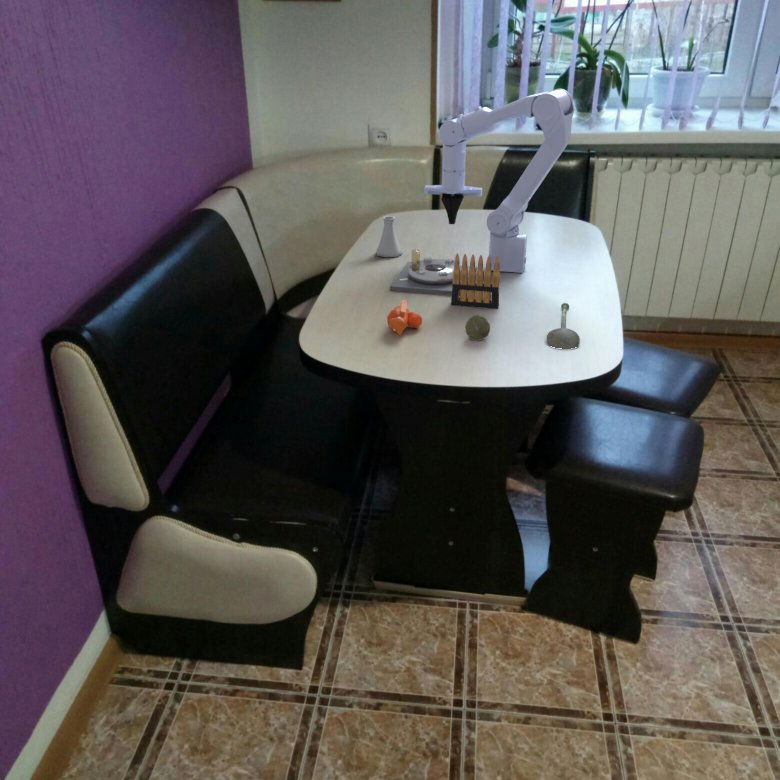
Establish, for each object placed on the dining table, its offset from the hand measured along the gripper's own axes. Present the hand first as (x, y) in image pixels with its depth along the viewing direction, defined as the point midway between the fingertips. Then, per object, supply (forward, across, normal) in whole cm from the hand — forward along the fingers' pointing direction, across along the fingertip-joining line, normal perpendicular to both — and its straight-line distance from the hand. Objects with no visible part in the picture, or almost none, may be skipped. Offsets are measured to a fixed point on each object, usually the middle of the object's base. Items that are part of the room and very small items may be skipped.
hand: (452, 223), depth 188 cm
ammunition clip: (+10, +11, -31) cm, 34 cm away
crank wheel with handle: (+8, -1, -17) cm, 19 cm away
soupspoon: (+10, +31, -39) cm, 51 cm away
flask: (+10, -17, 0) cm, 20 cm away
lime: (+10, +14, -48) cm, 51 cm away
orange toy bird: (+10, -2, -46) cm, 47 cm away
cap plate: (+9, -1, -17) cm, 19 cm away
